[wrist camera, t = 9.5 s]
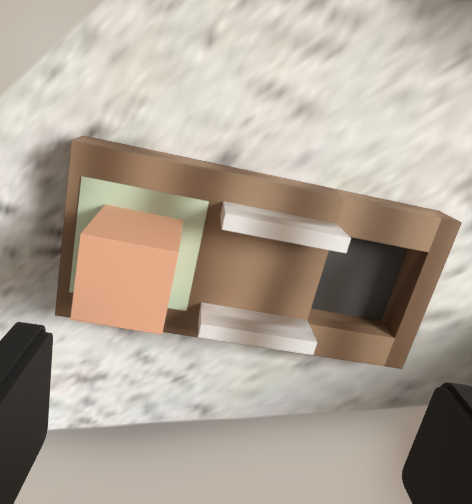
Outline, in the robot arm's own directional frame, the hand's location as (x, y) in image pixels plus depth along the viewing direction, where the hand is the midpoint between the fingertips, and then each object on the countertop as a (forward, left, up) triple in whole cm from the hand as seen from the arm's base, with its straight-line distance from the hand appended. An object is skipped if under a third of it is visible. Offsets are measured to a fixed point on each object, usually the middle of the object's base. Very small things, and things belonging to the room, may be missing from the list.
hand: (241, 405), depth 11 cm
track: (-4, +4, -22) cm, 23 cm away
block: (+4, +4, -19) cm, 20 cm away
